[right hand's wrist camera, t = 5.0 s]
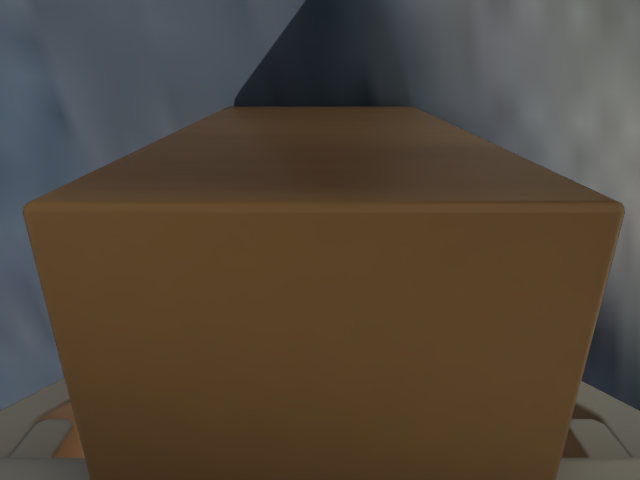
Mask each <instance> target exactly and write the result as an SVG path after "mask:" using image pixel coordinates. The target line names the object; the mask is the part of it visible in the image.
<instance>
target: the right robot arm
mask: <svg viewBox="0 0 640 480" xmlns="http://www.w3.org/2000/svg"><path fill="white" fill-rule="evenodd" d="M0 480H90V476H89V473H88V469H87V465H86V461H85V457H84V453H83V449H82V445H81V441H80V437H79V433H78V429H77V425H76V421H75V417H74V413H73V409H72V405H71V401H70V397H69V393H68V389H67V385H66V381H65V378H63V379H61V380H59V381H57V382H55V383H53V384H52V385H50V386H48V387H46V388H44V389H42V390H40V391H38V392H36V393H34V394H32V395H30V396H28V397H26V398H24V399H22V400H20V401H18V402H17V403H15V404H13V405H11V406H9V407H7V408H5V409H3V410H1V411H0ZM556 480H640V411H639V410H637V409H635V408H633V407H631V406H629V405H627V404H625V403H623V402H621V401H619V400H617V399H615V398H614V397H612V396H610V395H608V394H606V393H604V392H602V391H600V390H598V389H596V388H594V387H592V386H590V385H588V384H586V383H584V382H583V381H581V384H580V388H579V392H578V395H577V399H576V403H575V407H574V411H573V415H572V419H571V423H570V426H569V430H568V434H567V438H566V442H565V446H564V450H563V454H562V457H561V461H560V465H559V469H558V473H557V477H556Z"/></svg>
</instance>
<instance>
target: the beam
mask: <svg viewBox="0 0 640 480" xmlns="http://www.w3.org/2000/svg"><path fill="white" fill-rule="evenodd" d="M624 213H625V212H624V206H623V205H622V203H619V202H617V201H615V200H613V199H611V198H609V197H607V196H604V195H602V194H600V193H598V192H596V191H594V190H592V189H589V188H587V187H585V186H583V185H581V184H579V183H577V182H574V181H572V180H570V179H568V178H566V177H564V176H561V175H559V174H557V173H555V172H553V171H551V170H549V169H546V168H544V167H542V166H540V165H538V164H536V163H534V162H531V161H529V160H527V159H525V158H523V157H521V156H519V155H516V154H514V153H512V152H510V151H508V150H506V149H504V148H501V147H499V146H497V145H495V144H493V143H491V142H489V141H486V140H484V139H482V138H480V137H478V136H476V135H474V134H471V133H469V132H467V131H465V130H463V129H461V128H458V127H456V126H454V125H452V124H450V123H448V122H446V121H443V120H441V119H439V118H437V117H435V116H433V115H431V114H428V113H426V112H424V111H422V110H420V109H418V108H416V107H227V108H225V109H223V110H221V111H219V112H217V113H215V114H212V115H210V116H208V117H206V118H204V119H202V120H200V121H198V122H196V123H194V124H192V125H189V126H187V127H185V128H183V129H181V130H179V131H177V132H175V133H173V134H171V135H169V136H166V137H164V138H162V139H160V140H158V141H156V142H154V143H152V144H150V145H148V146H145V147H143V148H141V149H139V150H137V151H135V152H133V153H131V154H129V155H127V156H125V157H122V158H120V159H118V160H116V161H114V162H112V163H110V164H108V165H106V166H104V167H102V168H99V169H97V170H95V171H93V172H91V173H89V174H87V175H85V176H83V177H81V178H79V179H76V180H74V181H72V182H70V183H68V184H66V185H64V186H62V187H60V188H58V189H56V190H53V191H51V192H49V193H47V194H45V195H43V196H41V197H39V198H37V199H35V200H33V201H30V202H28V203H26V204H25V206H24V209H23V215H24V219H25V223H26V227H27V231H28V235H29V239H30V243H31V247H32V251H33V255H34V259H35V263H36V267H37V271H38V275H39V278H40V282H41V286H42V290H43V294H44V298H45V302H46V306H47V310H48V314H49V318H50V322H51V326H52V330H53V334H54V338H55V342H56V346H57V350H58V354H59V358H60V362H61V366H62V370H63V374H64V377H65V381H66V385H67V389H68V393H69V397H70V401H71V405H72V409H73V413H74V417H75V421H76V425H77V429H78V433H79V437H80V441H81V445H82V449H83V453H84V457H85V461H86V465H87V469H88V473H89V476H90V480H556V477H557V473H558V469H559V465H560V461H561V457H562V454H563V450H564V446H565V442H566V438H567V434H568V430H569V426H570V423H571V419H572V415H573V411H574V407H575V403H576V399H577V395H578V392H579V388H580V384H581V380H582V376H583V372H584V368H585V364H586V361H587V357H588V353H589V349H590V345H591V341H592V337H593V333H594V330H595V326H596V322H597V318H598V314H599V310H600V306H601V302H602V299H603V295H604V291H605V287H606V283H607V279H608V275H609V271H610V268H611V264H612V260H613V256H614V252H615V248H616V244H617V240H618V237H619V233H620V229H621V225H622V221H623V217H624Z"/></svg>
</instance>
